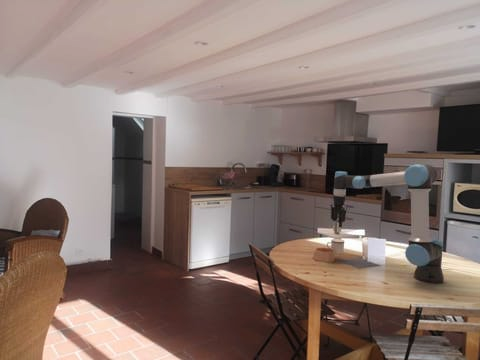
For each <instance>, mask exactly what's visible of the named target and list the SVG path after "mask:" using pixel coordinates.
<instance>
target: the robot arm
mask: <svg viewBox="0 0 480 360" xmlns="http://www.w3.org/2000/svg"><path fill="white" fill-rule="evenodd" d="M334 174H335V175H334V181H333V182H334V184H333V197H332V201H333V203H331V204H330V220H332V227H333V228H332V231H335V220H339V221H338V223H337V232H342V226H343V223H344V222H345V221H346V217H347V216H346V215H347V210H348V207H347V206H346V205H345V202H346V194H347V193H346V192H347V188H352V189H363V188H365V189H367V188H373V187H374V188H376V187H385V186H386V187H387V186H399V185H407V190H408V192H410V220H411V222H410V223H411V225H410V226H411V228H410V229H411V232H410V233H411V234H410V235H411V236H410V237H409V238H408V246H407V247H406V248H405V252H404V253H405V254H404V255H405V258H406V259H407V261H408V262H409V263H410V264H411V265H413V266H416V268H415V270H414V272H413V278H415V280H418V281H421V282H425V283H428V284H429V283H430V284H442V283H444V282H445V277H444V273H443V272H444V271H443V269H442V264H443V263H442V260H443V251H444V245H443V244H444V243H443V241H442V240H439V239H435V238H431V237H430V218H429V217H430V216H429V215H430V213H429V212H430V209H429V208H430V205H429V203H430V202H429V197H430V196H429V193H430V192H431V190H432V189H433V188H432V185H433V184H434V183H436V182H437V180H438V177H439V176H438V175H439V174H438V171H437V169H436V167H434V166H432V165H430V164H421V163H416V164H411V165H409V167H407V168H406V170H404V171H397V172H396V171H395V172H388V173H378V174H369V175H349V174H348V172H347V171H340V170H339V171H335V172H334Z"/></svg>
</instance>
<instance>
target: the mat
mask: <svg viewBox="0 0 480 360" xmlns="http://www.w3.org/2000/svg"><path fill="white" fill-rule="evenodd" d="M363 259H364V258H361V257H355V258H347V259H340V260H337V262H341V263H343V264H346V265H347V266H351V267H353V268H356V269H358V270H360V269H366V268H367V269H370V268H375V267H381V266H382V265H381V264H377V263H375V262H372V261H369V262H367V261H368V260H366V259H364V260H363ZM365 260H366V261H365Z"/></svg>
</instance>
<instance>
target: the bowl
mask: <svg viewBox="0 0 480 360" xmlns="http://www.w3.org/2000/svg"><path fill="white" fill-rule="evenodd" d="M329 248H330V247H329ZM329 248H327V247H316V248H314V249H313V259H314V261H316V262H323V263H331V262H335V259H336V257H335V256H336V254H335V251H334V250H333V249H329Z"/></svg>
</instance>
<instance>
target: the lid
mask: <svg viewBox="0 0 480 360" xmlns="http://www.w3.org/2000/svg"><path fill="white" fill-rule="evenodd" d="M338 221H339V219H337V220H335V231H333V230H330V231H327V230H326V231H319V232H318V234H319V235H323V236H325V237H329V238H331V239H342V240H343V239H349V238H350V239H354V238H356V236H355V235H353V234H349V233H346V232H343V231H341V232H337V223H338Z"/></svg>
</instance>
